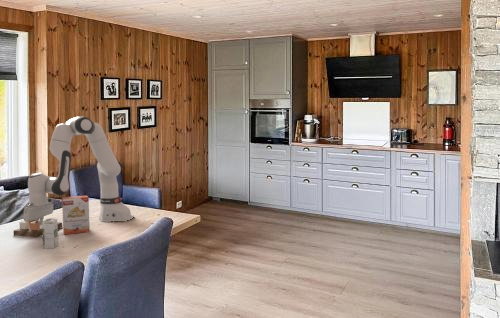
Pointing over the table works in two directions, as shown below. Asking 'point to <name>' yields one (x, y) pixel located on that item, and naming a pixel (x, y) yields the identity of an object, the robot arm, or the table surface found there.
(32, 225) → the orange fader
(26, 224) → the white fader
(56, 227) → the syrup box
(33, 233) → the console
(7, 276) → the table surface
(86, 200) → the cracker box
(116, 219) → the robot arm
